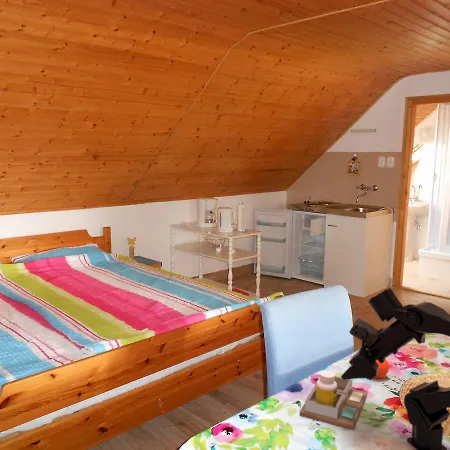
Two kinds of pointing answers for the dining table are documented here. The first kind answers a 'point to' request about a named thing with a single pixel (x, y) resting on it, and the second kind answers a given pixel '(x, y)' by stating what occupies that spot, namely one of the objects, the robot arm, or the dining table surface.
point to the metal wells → (327, 409)
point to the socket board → (343, 410)
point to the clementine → (382, 369)
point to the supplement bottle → (326, 389)
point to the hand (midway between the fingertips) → (346, 370)
